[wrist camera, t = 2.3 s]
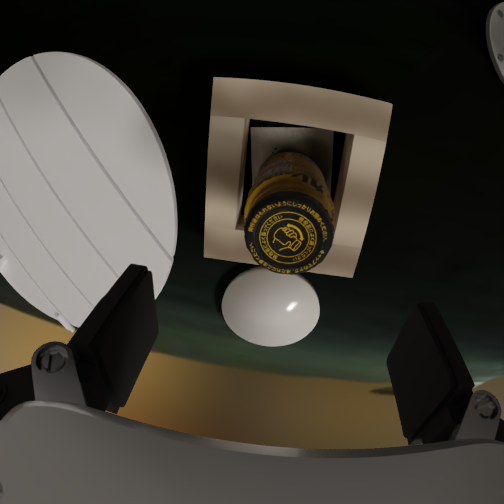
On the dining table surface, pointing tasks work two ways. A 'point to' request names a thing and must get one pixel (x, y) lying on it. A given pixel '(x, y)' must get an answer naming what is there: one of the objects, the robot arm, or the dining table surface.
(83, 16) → the dining table surface
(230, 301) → the coaster
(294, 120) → the holder
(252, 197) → the condiment
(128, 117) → the lazy susan
